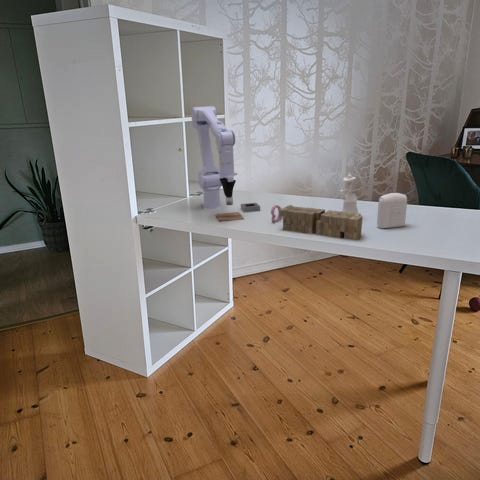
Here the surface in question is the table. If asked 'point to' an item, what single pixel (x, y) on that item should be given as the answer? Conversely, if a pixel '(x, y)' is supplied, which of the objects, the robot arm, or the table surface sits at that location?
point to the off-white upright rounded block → (392, 210)
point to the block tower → (322, 222)
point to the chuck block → (250, 207)
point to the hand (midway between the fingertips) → (228, 196)
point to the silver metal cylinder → (229, 200)
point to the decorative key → (274, 214)
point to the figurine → (349, 196)
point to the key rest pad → (229, 216)
